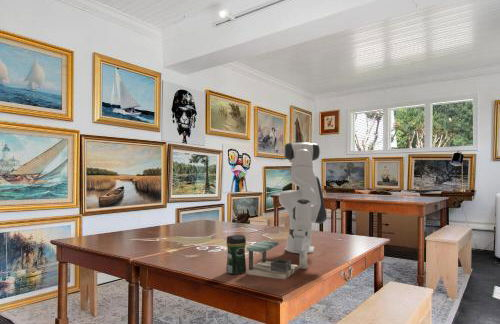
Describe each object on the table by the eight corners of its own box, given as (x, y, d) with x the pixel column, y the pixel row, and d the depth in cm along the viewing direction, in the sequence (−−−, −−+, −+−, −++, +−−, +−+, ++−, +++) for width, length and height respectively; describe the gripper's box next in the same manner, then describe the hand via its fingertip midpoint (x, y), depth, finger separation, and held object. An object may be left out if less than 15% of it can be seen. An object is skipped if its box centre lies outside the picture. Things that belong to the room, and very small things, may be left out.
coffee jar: (239, 269, 176) (239, 233, 177) (248, 272, 170) (248, 235, 171) (223, 272, 171) (223, 234, 171) (232, 276, 164) (232, 237, 165)
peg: (300, 266, 182) (300, 243, 182) (308, 267, 180) (308, 244, 181) (298, 268, 178) (298, 245, 179) (305, 269, 177) (305, 246, 177)
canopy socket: (262, 264, 186) (262, 240, 186) (297, 269, 177) (298, 243, 178) (246, 273, 168) (247, 247, 168) (285, 279, 159) (285, 251, 160)
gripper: (303, 227, 191) (303, 252, 190) (291, 233, 172) (291, 260, 172) (314, 228, 188) (314, 253, 188) (303, 234, 170) (303, 262, 169)
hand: (303, 257), depth 180 cm, fingers closed on peg, 4 cm apart
